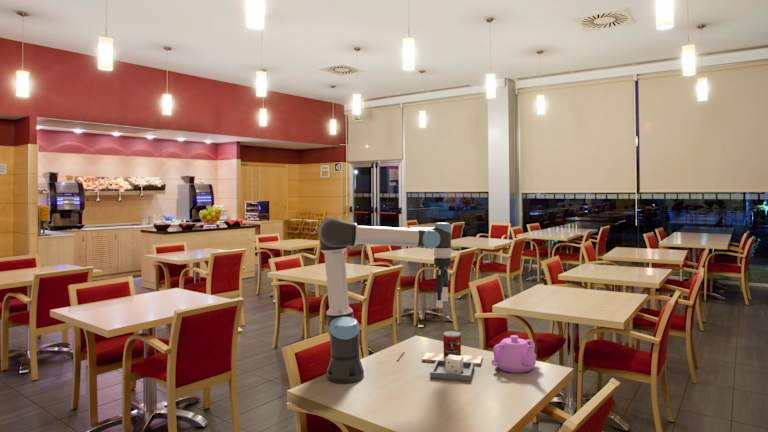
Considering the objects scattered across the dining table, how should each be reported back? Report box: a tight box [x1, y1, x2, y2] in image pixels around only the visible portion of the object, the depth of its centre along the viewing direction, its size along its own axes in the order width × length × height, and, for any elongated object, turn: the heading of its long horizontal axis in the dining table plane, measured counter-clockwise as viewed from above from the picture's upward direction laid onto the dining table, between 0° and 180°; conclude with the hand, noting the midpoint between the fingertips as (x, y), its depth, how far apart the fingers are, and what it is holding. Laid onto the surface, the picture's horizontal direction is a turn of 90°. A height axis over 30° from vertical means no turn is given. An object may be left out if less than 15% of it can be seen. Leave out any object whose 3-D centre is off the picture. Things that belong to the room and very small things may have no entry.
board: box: [396, 351, 483, 367], centre depth 230 cm, size 37×13×1 cm, turn 75°
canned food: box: [442, 330, 462, 358], centre depth 229 cm, size 8×8×11 cm
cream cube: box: [445, 354, 463, 374], centre depth 212 cm, size 6×6×6 cm
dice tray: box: [429, 360, 475, 382], centre depth 213 cm, size 16×16×2 cm
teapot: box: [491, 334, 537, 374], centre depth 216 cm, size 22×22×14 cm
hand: (442, 304), depth 231 cm, fingers open, 13 cm apart
